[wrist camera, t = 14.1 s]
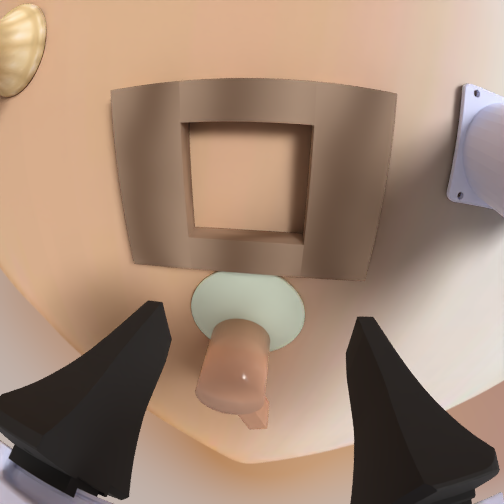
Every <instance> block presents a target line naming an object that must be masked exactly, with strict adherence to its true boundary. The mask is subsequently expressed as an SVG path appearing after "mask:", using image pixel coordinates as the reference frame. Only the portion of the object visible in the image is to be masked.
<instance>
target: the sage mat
mask: <svg viewBox="0 0 504 504" xmlns="http://www.w3.org/2000/svg"><path fill="white" fill-rule="evenodd" d="M191 311H192V315H193V318H194V321H195V323H196V324H197V326H198V327H199V329H200V330H201V331H202V332H203V333H204V334H205V335H206V336H207V337H208V338H209V339H210V338H211V334H212V331H213V329H214V327H215V326H216V325H217V324H219V323H220V322H222V321H224V320H228V319H245V320H249V321H252V322H255V323H257V324H258V325H260V326H262V327H263V328H264V329H265V330H266V331H267V333H268V334H269V337H270V351H274V350H277V349H280V348H282V347H284V346H286V345H287V344H289V343H290V342H291V341H293V340H294V339H295V338H296V337H297V336H298V334H299V333H300V331H301V329H302V327H303V324H304V319H305V311H304V305H303V301H302V299H301V297H300V295H299V294H298V292H297V291H296V290H295V289H294V287H293V286H292V285H291V284H289V283H288V282H287V281H286V280H284V279H283V278H281V277H280V276H275V275H261V274H247V273H235V272H222V271H217V272H215V273H213V274H211V275H209V276H208V277H206V278H205V279H204V280H203V281H202V282H201V283H200V284H199V285H198V287H197V288H196V290H195V292H194V294H193V298H192V302H191ZM270 351H269V352H270Z"/></svg>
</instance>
